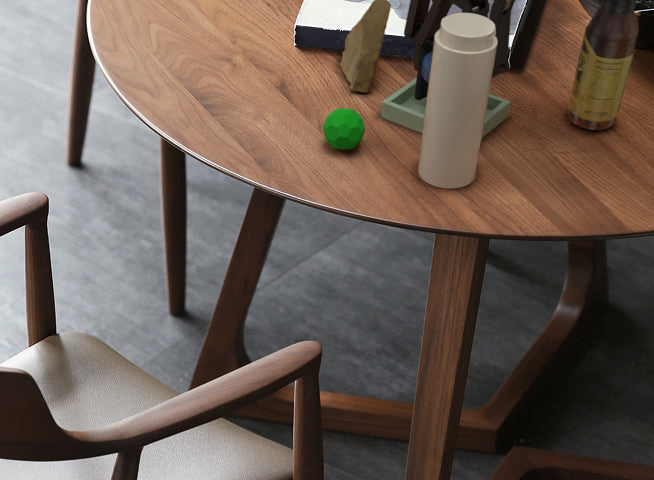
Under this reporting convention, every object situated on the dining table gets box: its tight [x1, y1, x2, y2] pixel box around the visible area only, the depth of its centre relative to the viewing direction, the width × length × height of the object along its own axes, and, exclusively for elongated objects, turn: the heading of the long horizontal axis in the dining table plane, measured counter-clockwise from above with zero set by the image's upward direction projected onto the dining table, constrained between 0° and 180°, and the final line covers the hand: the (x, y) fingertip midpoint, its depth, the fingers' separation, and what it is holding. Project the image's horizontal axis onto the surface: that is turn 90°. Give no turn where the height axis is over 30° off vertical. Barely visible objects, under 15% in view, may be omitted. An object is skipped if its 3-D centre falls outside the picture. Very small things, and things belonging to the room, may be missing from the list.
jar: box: [417, 12, 498, 190], centre depth 121 cm, size 7×7×19 cm
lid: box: [421, 51, 433, 83], centre depth 132 cm, size 7×7×2 cm
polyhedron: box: [322, 107, 366, 151], centre depth 130 cm, size 5×5×5 cm
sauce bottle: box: [568, 0, 640, 132], centre depth 130 cm, size 6×6×20 cm
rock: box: [339, 0, 392, 94], centre depth 142 cm, size 11×9×10 cm
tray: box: [379, 76, 512, 139], centre depth 136 cm, size 13×11×2 cm
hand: (446, 107), depth 136 cm, fingers closed on lid, 7 cm apart
